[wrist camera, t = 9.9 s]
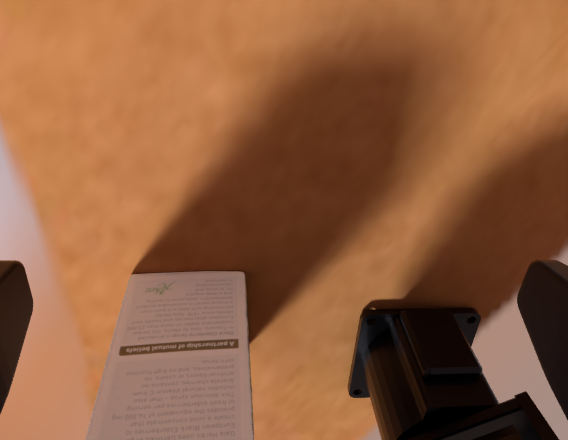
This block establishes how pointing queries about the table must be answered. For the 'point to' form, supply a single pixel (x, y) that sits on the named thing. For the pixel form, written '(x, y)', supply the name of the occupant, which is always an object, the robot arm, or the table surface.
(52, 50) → the table surface
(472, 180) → the table surface
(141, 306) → the syrup box
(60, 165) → the table surface
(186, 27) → the table surface
